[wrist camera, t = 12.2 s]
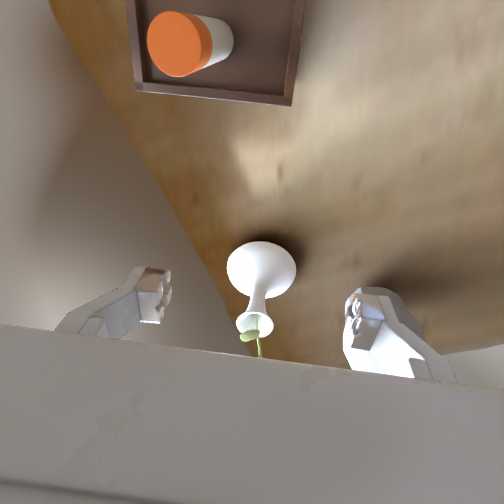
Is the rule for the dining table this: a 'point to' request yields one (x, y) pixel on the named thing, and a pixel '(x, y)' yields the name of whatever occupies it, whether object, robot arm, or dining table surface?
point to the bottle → (364, 358)
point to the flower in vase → (259, 283)
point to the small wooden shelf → (241, 57)
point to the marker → (187, 42)
